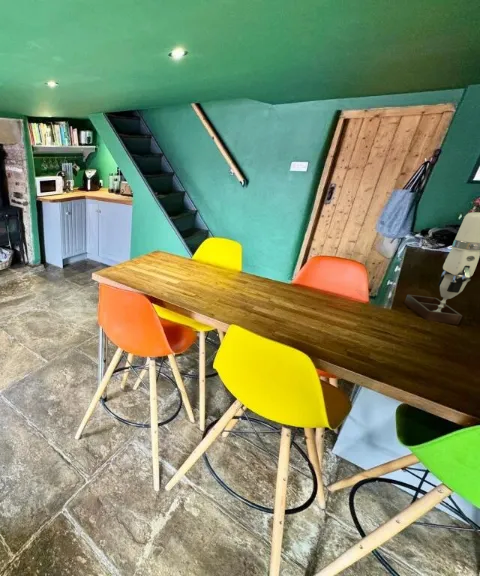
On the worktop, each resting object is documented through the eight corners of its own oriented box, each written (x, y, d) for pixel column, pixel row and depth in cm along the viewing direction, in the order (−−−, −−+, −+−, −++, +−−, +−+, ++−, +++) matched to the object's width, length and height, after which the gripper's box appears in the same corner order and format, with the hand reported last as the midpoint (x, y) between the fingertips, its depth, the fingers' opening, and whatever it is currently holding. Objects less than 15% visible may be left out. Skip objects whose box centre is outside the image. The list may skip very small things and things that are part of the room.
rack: (432, 308, 137) (436, 297, 135) (457, 327, 121) (462, 315, 119) (403, 304, 141) (407, 294, 139) (423, 322, 125) (428, 311, 123)
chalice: (449, 318, 126) (472, 278, 119) (445, 322, 122) (469, 281, 115) (425, 311, 131) (445, 272, 124) (421, 315, 127) (442, 275, 120)
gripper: (497, 251, 107) (473, 298, 113) (467, 241, 121) (448, 283, 128) (467, 249, 110) (446, 295, 116) (441, 240, 124) (424, 281, 131)
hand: (447, 288), depth 122 cm, fingers closed on chalice, 6 cm apart
